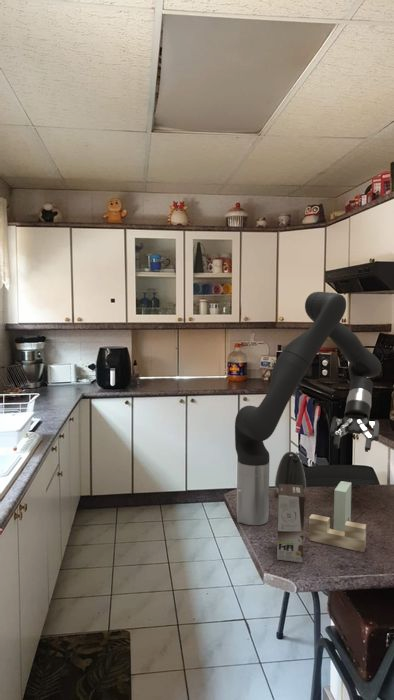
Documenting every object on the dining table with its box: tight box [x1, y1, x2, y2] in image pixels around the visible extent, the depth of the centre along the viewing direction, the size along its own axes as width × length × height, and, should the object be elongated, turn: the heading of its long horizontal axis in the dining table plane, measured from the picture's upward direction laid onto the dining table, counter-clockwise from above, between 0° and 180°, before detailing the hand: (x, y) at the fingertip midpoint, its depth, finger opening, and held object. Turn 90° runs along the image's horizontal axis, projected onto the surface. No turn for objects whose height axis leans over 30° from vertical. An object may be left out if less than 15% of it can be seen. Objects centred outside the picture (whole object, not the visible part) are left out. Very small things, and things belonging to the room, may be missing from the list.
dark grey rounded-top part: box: [274, 451, 307, 493], centre depth 155 cm, size 10×10×15 cm
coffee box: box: [276, 484, 306, 563], centre depth 116 cm, size 9×6×16 cm
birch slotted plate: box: [308, 513, 367, 553], centre depth 121 cm, size 14×3×6 cm, turn 62°
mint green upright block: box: [333, 480, 352, 532], centre depth 131 cm, size 9×3×12 cm, turn 152°
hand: (351, 448), depth 141 cm, fingers open, 8 cm apart
